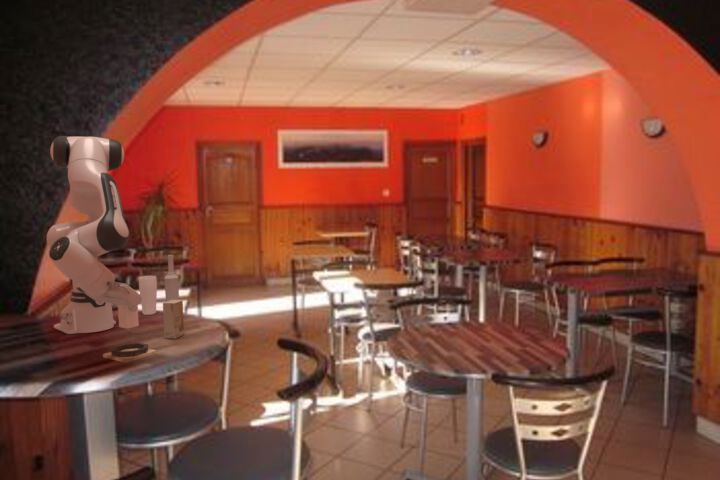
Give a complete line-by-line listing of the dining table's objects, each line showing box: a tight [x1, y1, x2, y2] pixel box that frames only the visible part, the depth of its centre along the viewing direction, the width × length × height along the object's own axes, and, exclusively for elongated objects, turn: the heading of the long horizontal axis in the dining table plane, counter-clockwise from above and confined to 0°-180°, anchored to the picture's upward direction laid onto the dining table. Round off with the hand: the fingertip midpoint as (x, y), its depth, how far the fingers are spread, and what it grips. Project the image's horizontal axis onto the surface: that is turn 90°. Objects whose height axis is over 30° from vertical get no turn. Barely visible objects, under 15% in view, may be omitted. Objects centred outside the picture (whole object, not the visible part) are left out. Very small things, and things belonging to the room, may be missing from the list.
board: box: [102, 342, 158, 364], centre depth 182 cm, size 11×11×2 cm
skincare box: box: [162, 299, 185, 340], centre depth 203 cm, size 6×4×12 cm
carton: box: [117, 304, 140, 330], centre depth 181 cm, size 4×4×9 cm
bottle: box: [163, 254, 180, 302], centre depth 227 cm, size 5×5×25 cm
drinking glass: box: [138, 275, 158, 316], centre depth 239 cm, size 7×7×15 cm
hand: (129, 308), depth 181 cm, fingers closed on carton, 4 cm apart
